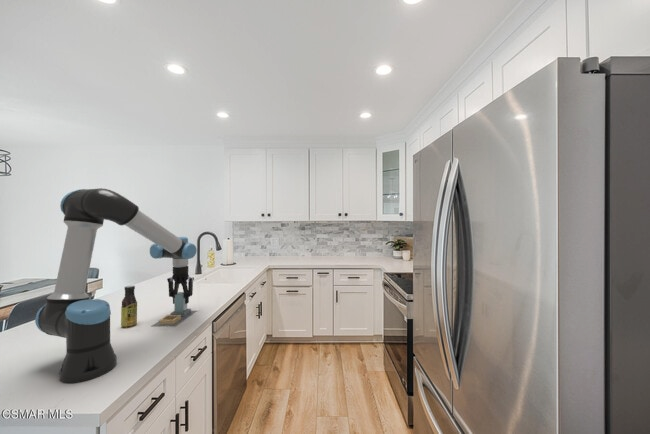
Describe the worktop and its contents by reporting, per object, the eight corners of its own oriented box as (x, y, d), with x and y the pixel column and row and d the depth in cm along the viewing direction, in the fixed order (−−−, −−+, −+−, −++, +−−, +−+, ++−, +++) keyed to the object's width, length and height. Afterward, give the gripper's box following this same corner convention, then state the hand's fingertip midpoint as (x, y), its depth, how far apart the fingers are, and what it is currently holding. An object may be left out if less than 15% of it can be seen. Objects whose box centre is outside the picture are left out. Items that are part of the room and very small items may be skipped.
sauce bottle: (128, 330, 130) (128, 288, 130) (117, 330, 131) (117, 287, 131) (140, 325, 136) (140, 285, 136) (129, 324, 138) (129, 284, 138)
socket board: (175, 328, 132) (175, 322, 132) (150, 328, 133) (150, 322, 133) (197, 312, 154) (197, 307, 154) (176, 312, 155) (176, 307, 155)
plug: (182, 315, 146) (182, 293, 146) (175, 315, 146) (175, 293, 146) (186, 313, 150) (186, 291, 150) (179, 313, 150) (179, 291, 150)
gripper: (199, 264, 152) (200, 307, 152) (168, 264, 152) (169, 307, 152) (192, 267, 145) (193, 312, 145) (160, 267, 145) (160, 312, 145)
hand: (180, 309), depth 148 cm, fingers closed on plug, 4 cm apart
